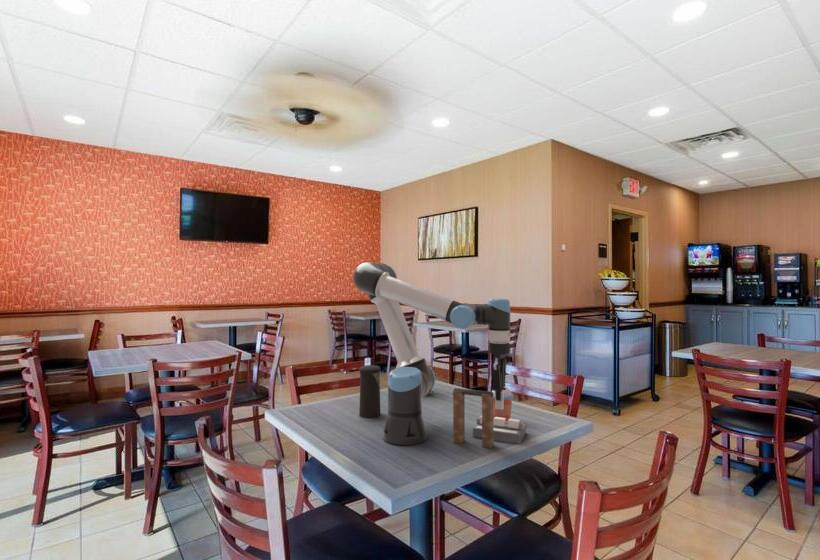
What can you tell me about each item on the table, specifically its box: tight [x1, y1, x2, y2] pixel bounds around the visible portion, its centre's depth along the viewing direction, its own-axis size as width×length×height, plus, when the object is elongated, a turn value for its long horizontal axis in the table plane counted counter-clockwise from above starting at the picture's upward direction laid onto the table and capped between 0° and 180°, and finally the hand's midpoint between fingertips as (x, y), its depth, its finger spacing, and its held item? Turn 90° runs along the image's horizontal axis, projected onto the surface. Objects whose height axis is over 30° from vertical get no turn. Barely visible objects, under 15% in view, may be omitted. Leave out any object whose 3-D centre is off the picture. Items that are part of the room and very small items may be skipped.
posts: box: [452, 390, 495, 449], centre depth 144 cm, size 13×4×17 cm, turn 64°
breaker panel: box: [472, 416, 527, 445], centre depth 153 cm, size 16×12×5 cm
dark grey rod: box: [452, 387, 493, 397], centre depth 145 cm, size 14×2×2 cm, turn 64°
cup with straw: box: [491, 386, 514, 422], centre depth 167 cm, size 9×9×18 cm
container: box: [358, 364, 381, 418], centre depth 177 cm, size 9×9×20 cm
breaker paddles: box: [479, 414, 521, 429], centre depth 153 cm, size 14×2×2 cm, turn 64°
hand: (499, 408), depth 153 cm, fingers closed
